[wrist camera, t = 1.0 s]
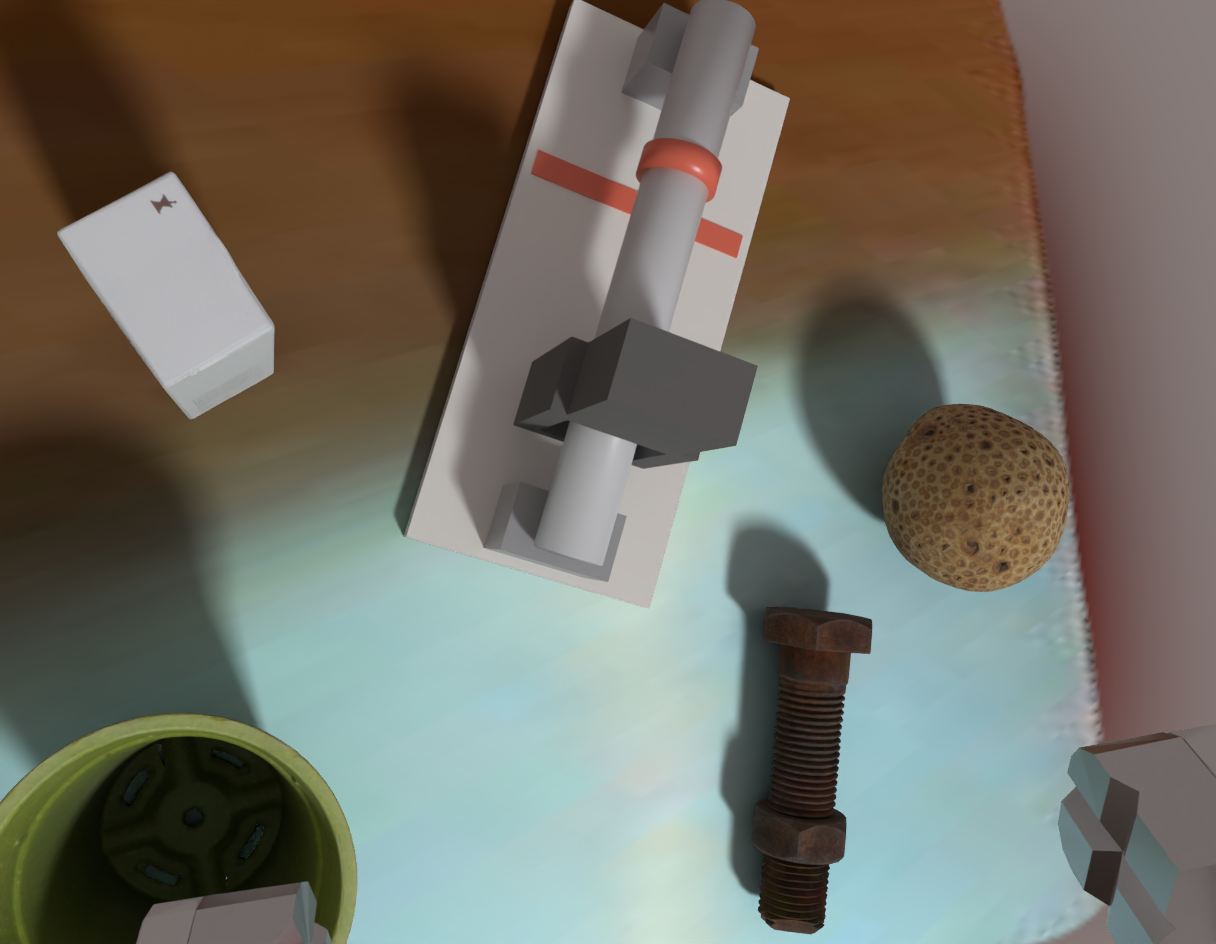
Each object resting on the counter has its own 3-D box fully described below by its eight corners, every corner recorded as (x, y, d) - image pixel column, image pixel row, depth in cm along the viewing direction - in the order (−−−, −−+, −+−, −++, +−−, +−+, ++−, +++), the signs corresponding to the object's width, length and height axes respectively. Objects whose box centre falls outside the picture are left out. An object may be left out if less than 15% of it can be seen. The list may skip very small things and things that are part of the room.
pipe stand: (642, 606, 50) (706, 620, 42) (403, 536, 46) (428, 538, 39) (780, 106, 54) (862, 38, 46) (569, 7, 50) (620, -83, 43)
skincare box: (106, 304, 43) (48, 225, 32) (198, 256, 44) (174, 163, 33) (190, 426, 44) (162, 392, 33) (278, 375, 45) (281, 325, 34)
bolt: (742, 895, 53) (769, 603, 54) (842, 912, 52) (868, 615, 53) (733, 937, 47) (763, 610, 48) (845, 957, 46) (874, 623, 47)
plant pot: (343, 667, 45) (366, 711, 35) (329, 942, 45) (347, 1073, 34) (45, 669, 42) (-34, 718, 31) (23, 968, 41) (-64, 1124, 30)
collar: (643, 468, 47) (753, 451, 36) (512, 425, 45) (588, 393, 35) (660, 407, 48) (774, 372, 37) (532, 361, 46) (612, 310, 35)
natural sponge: (833, 412, 54) (953, 388, 44) (975, 416, 56) (1117, 393, 47) (837, 586, 53) (959, 599, 44) (980, 581, 56) (1125, 592, 47)
